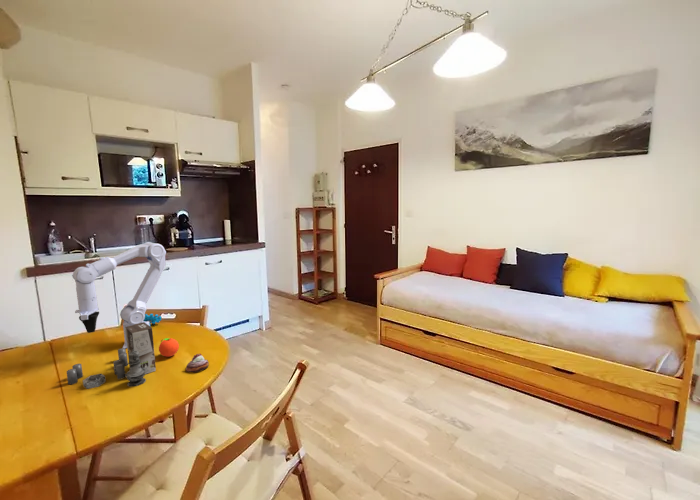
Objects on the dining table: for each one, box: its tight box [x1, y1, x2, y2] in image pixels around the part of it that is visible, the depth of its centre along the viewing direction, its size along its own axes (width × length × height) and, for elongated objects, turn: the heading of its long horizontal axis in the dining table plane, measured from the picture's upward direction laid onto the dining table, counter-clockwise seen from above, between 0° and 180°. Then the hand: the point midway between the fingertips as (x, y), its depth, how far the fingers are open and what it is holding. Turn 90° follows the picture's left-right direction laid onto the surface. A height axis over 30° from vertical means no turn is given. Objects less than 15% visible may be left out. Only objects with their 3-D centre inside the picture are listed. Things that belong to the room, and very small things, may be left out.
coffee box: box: [125, 322, 157, 375], centre depth 117 cm, size 9×6×16 cm
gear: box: [143, 313, 162, 326], centre depth 156 cm, size 11×6×10 cm
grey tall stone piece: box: [125, 349, 147, 388], centre depth 109 cm, size 6×6×12 cm
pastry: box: [185, 353, 210, 373], centre depth 119 cm, size 8×8×5 cm
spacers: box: [66, 347, 129, 386], centre depth 116 cm, size 16×17×4 cm
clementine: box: [158, 337, 180, 358], centre depth 128 cm, size 8×7×7 cm
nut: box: [82, 373, 107, 390], centre depth 109 cm, size 6×5×2 cm
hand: (91, 331), depth 127 cm, fingers closed
